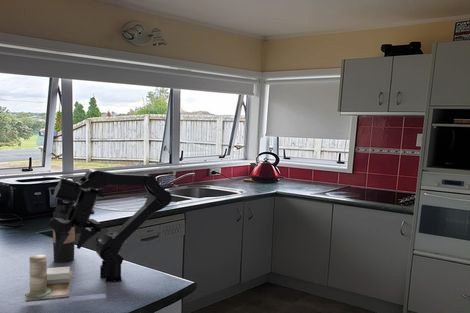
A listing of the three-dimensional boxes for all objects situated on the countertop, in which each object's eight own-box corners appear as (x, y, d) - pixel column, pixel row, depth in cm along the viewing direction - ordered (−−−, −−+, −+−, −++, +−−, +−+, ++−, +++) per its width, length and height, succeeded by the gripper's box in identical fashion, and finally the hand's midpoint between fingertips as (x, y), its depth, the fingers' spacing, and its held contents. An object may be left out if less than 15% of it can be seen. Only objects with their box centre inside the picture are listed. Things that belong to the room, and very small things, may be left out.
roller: (42, 287, 130) (41, 253, 130) (49, 291, 127) (49, 256, 127) (26, 291, 127) (26, 257, 126) (34, 296, 124) (34, 260, 123)
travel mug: (53, 260, 160) (53, 210, 158) (74, 258, 163) (74, 209, 161) (53, 267, 153) (52, 214, 151) (75, 264, 156) (75, 213, 154)
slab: (70, 277, 140) (70, 266, 139) (68, 284, 134) (68, 272, 134) (41, 280, 137) (41, 268, 136) (38, 287, 131) (38, 275, 131)
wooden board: (73, 272, 147) (73, 268, 147) (68, 298, 127) (68, 293, 126) (34, 275, 144) (34, 271, 143) (23, 302, 123) (23, 297, 122)
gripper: (88, 198, 148) (72, 238, 148) (46, 194, 131) (28, 240, 131) (110, 210, 144) (93, 251, 143) (69, 207, 127) (51, 254, 127)
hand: (67, 249), depth 136 cm, fingers open, 9 cm apart
